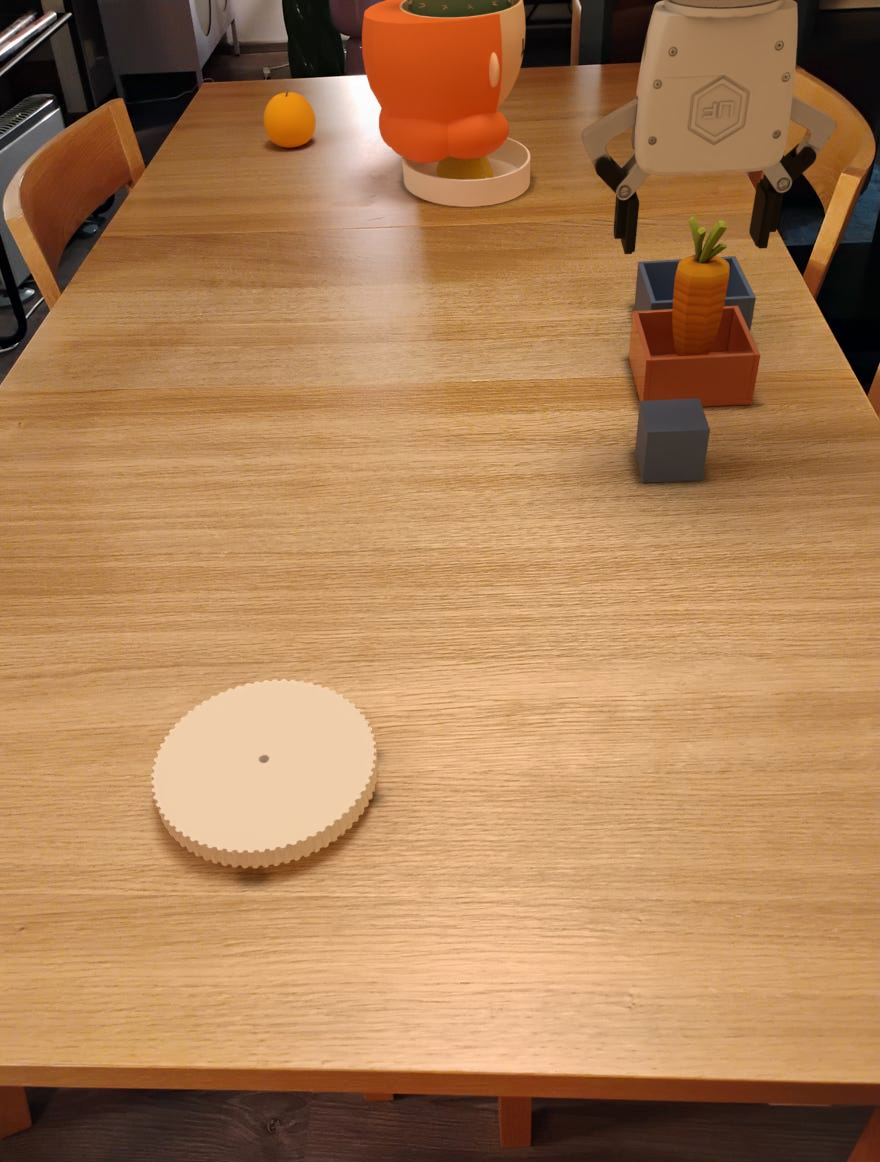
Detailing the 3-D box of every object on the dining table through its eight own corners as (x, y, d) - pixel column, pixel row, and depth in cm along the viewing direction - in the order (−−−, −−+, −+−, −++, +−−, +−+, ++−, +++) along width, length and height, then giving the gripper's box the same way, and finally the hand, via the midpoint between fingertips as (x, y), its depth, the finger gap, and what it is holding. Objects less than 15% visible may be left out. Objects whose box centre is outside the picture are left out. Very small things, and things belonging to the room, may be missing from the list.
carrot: (656, 366, 100) (672, 210, 90) (706, 360, 100) (728, 203, 90) (671, 391, 96) (690, 231, 86) (723, 385, 96) (748, 224, 86)
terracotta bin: (730, 353, 102) (738, 305, 98) (751, 404, 94) (760, 354, 91) (628, 358, 103) (632, 310, 99) (641, 409, 95) (646, 360, 92)
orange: (257, 149, 161) (249, 97, 156) (289, 134, 165) (282, 82, 160) (296, 155, 157) (289, 102, 152) (328, 139, 162) (322, 87, 157)
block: (692, 448, 90) (699, 397, 86) (702, 481, 86) (710, 429, 83) (634, 451, 90) (639, 400, 87) (642, 483, 87) (647, 431, 83)
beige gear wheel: (288, 675, 73) (282, 649, 71) (425, 781, 65) (423, 754, 63) (118, 788, 66) (108, 762, 64) (248, 921, 58) (240, 896, 56)
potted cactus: (489, 146, 153) (483, -146, 130) (557, 192, 137) (565, -132, 114) (353, 175, 149) (322, -123, 125) (407, 225, 133) (384, -105, 109)
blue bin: (728, 301, 110) (735, 255, 107) (748, 345, 103) (756, 297, 99) (634, 306, 111) (638, 261, 108) (646, 350, 104) (651, 303, 100)
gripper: (595, 0, 64) (579, 270, 75) (883, -18, 62) (823, 260, 74) (585, -25, 69) (572, 230, 81) (849, -42, 68) (798, 220, 79)
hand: (692, 244), depth 77 cm, fingers open, 9 cm apart
